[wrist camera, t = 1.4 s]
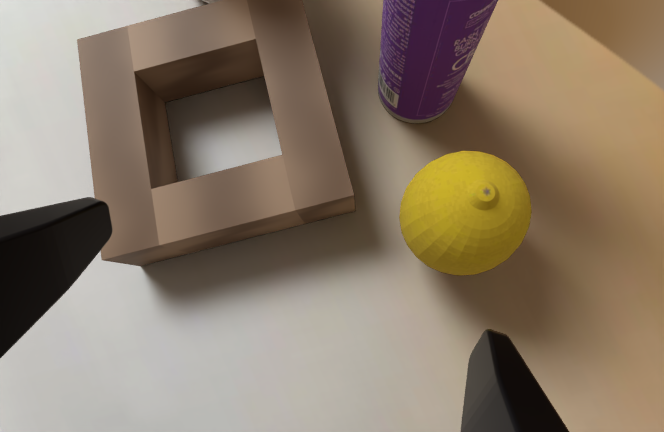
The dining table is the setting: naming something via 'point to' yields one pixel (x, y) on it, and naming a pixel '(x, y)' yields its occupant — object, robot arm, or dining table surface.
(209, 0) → the can
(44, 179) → the dining table surface
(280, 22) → the frame
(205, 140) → the dining table surface
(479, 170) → the lemon
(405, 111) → the container
